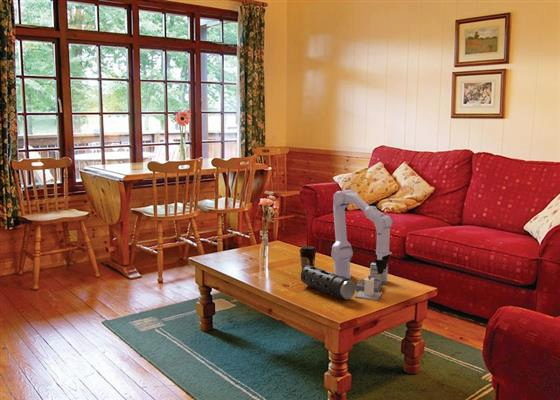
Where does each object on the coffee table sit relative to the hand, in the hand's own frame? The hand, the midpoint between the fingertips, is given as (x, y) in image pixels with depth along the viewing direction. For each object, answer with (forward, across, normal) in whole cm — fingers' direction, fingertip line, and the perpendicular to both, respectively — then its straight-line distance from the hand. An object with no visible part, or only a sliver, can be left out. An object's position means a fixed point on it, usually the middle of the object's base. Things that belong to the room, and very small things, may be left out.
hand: (381, 271), depth 249 cm
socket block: (+9, +1, +6) cm, 11 cm away
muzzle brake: (+10, -12, +22) cm, 27 cm away
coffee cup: (+10, +16, +41) cm, 45 cm away
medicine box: (+10, +14, +4) cm, 17 cm away
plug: (+9, -8, +4) cm, 13 cm away
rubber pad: (+9, -8, +4) cm, 13 cm away
